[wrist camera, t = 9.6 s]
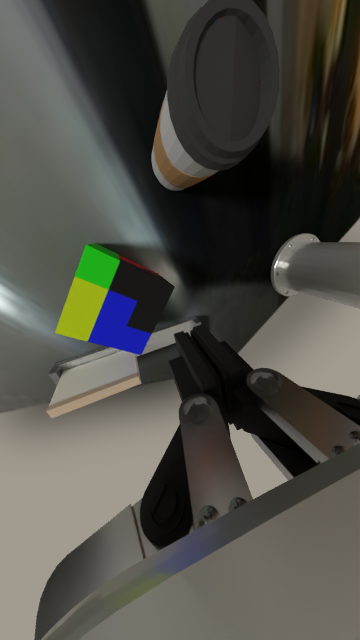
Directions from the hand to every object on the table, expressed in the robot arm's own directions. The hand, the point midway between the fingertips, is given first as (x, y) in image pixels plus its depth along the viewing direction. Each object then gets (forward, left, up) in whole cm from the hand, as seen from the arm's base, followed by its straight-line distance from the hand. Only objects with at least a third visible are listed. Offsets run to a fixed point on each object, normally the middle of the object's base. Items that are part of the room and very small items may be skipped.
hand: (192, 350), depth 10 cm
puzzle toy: (+4, 0, -23) cm, 23 cm away
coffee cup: (-9, -14, -23) cm, 28 cm away
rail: (+5, +11, -23) cm, 26 cm away
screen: (+11, +11, -21) cm, 26 cm away
